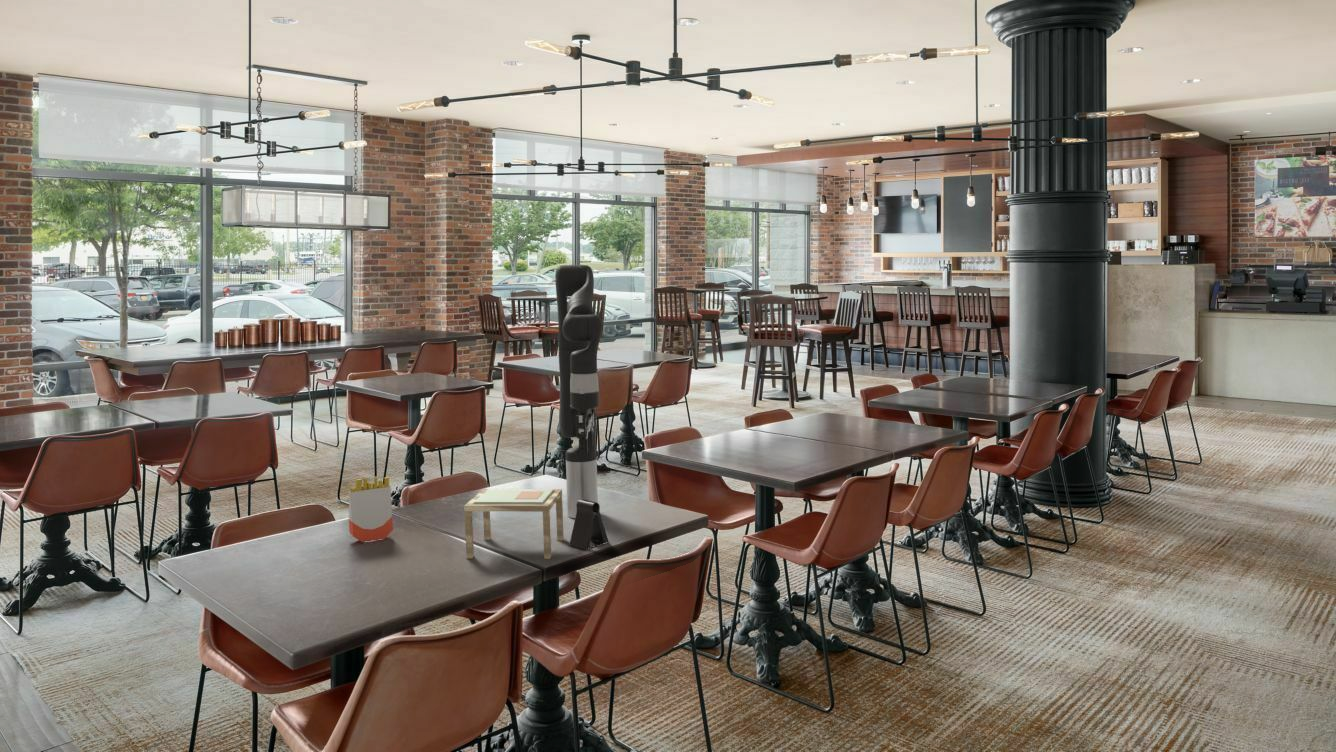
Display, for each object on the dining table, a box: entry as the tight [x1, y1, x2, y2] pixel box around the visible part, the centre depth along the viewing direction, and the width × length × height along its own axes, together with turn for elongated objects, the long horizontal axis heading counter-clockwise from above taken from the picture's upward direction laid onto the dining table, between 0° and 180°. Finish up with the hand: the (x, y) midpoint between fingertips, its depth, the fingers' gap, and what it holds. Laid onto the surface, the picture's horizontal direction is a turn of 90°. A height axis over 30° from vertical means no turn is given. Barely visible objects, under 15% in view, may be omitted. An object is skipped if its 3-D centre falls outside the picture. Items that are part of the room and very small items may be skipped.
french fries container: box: [348, 476, 394, 543], centre depth 262 cm, size 5×11×18 cm, turn 121°
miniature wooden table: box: [463, 488, 564, 560], centre depth 252 cm, size 18×22×14 cm
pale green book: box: [474, 488, 553, 504], centre depth 251 cm, size 14×18×2 cm
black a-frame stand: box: [569, 499, 609, 551], centre depth 254 cm, size 9×6×12 cm, turn 138°
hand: (586, 450), depth 252 cm, fingers open, 8 cm apart
